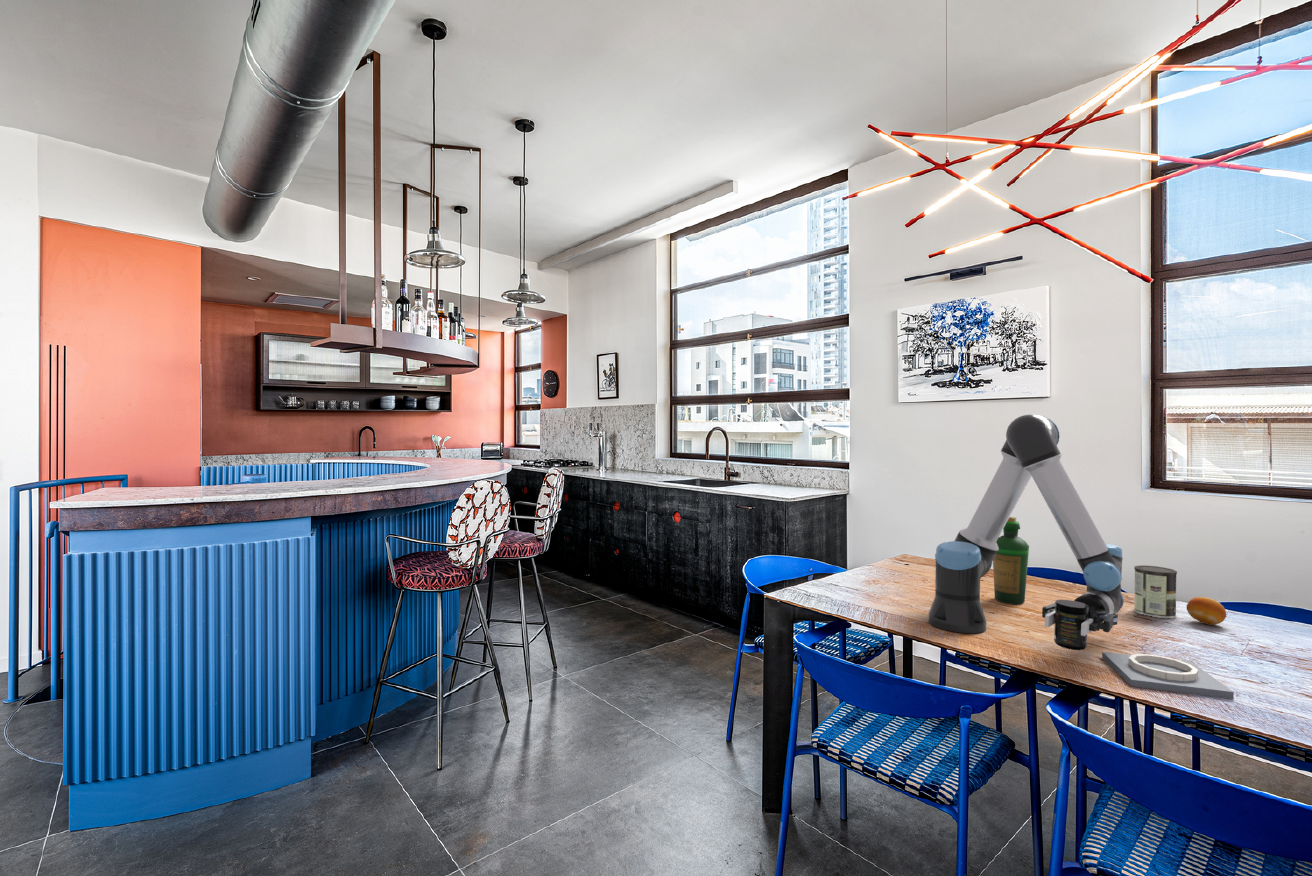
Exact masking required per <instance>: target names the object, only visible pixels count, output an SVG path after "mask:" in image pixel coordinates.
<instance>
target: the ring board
mask: <svg viewBox="0 0 1312 876" xmlns="http://www.w3.org/2000/svg"><path fill="white" fill-rule="evenodd" d="M1101 658H1102V659H1103V660H1104V661H1105V663H1107V664H1108V665H1109V664H1110V665H1109V666H1110V667H1111V668H1112V669H1113V670H1114V671H1115V672H1116V673H1117V674H1118V675H1119V676H1120V677H1121V678H1122V679H1123V680H1124V681H1125V682H1126V683H1128V685H1129V686H1131V687H1134V688H1141V689H1142V688H1143V689H1151V690H1159V691H1166V692H1173V693H1174V692H1175V693H1181V692H1182V693H1183V694H1190V695H1197V696H1198V695H1200V696H1205V697H1215V698H1221V699H1222V698H1224V699H1229V700H1230V699H1231V700H1234V697H1235V696H1234V694H1235V692H1234V691H1233V690H1232V689H1231V688H1229V687H1227V686H1226V685H1225V684H1223V683H1222V682H1220V681H1219V680H1217V679H1216V678H1215V677H1214V676H1212V675H1211V674H1210V673H1208V672H1206V671H1205V670H1203V669H1202V668H1201V667H1200V666H1198V665H1197V664H1195V663H1194V662H1193V661H1189V660H1180V659H1175V658H1172V657H1166V656H1164V655H1163V656H1162V655H1156V654H1147V653H1138V654H1137V653H1134V654H1127V653H1119V652H1118V653H1116V652H1108V651H1102V652H1101Z"/></svg>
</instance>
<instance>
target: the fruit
mask: <svg viewBox="0 0 1312 876" xmlns="http://www.w3.org/2000/svg"><path fill="white" fill-rule="evenodd" d="M1186 611H1187V613H1188V614H1189V616H1190V617H1191V618H1193V619H1194V620H1196V621H1198V622H1200V623H1202V624H1205V625H1210V626H1213V625H1214V626H1215V625H1219V624H1221V623H1223V622H1224V621H1225V620H1226V618H1227V611H1226V609H1225V607H1224V605H1222V604H1221V603H1220V602H1219V601H1217V600H1216V599H1213V598H1210V597H1206V596H1197V597H1193V598H1191V599H1190V600H1189V601H1188V602H1187V604H1186Z"/></svg>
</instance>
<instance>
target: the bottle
mask: <svg viewBox="0 0 1312 876" xmlns="http://www.w3.org/2000/svg"><path fill="white" fill-rule="evenodd" d="M1020 529H1021V525H1020V522H1019V521H1017V517H1015V516H1010V517H1009V519H1008V521H1007V522H1006V524H1005V526H1004V528H1003V530H1002V532H1003V535H1001V536H999V537H998V539H997V541H996V542H997V545H998V547H999V550H998V552H997V553H996V555H995V557H994V559H993V561H992V566H993V567H992V568H993V588H994V599H995V600H997V601H998V602H1001V603H1004V604H1009V605H1022V604H1024V603H1025V601H1026V600H1025V599H1026V591H1027V590H1026V589H1027V578H1028V565H1029V556H1030V555H1029V553H1030V546H1029V543H1027V541H1026V540H1025V539H1023V538H1022V537H1020V536H1018V535H1019V530H1020Z"/></svg>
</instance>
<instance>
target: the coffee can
mask: <svg viewBox="0 0 1312 876" xmlns="http://www.w3.org/2000/svg"><path fill="white" fill-rule="evenodd" d="M1177 575H1178V570H1175V569H1173V568H1168V567H1164V566H1163V567H1162V566H1157V565H1156V566H1155V565H1135V566H1134V598H1133V599H1134V609H1133V612H1135V613H1137V614H1139V615H1142V614H1144V615H1143V616H1145V615H1148V616H1147V617H1150V616H1152V617H1151V618H1156V617H1157V618H1156V619H1158V618H1159V619H1168V618H1170V619H1175V618H1177Z"/></svg>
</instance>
